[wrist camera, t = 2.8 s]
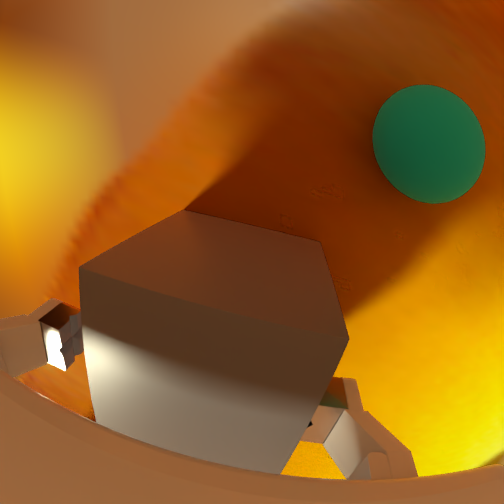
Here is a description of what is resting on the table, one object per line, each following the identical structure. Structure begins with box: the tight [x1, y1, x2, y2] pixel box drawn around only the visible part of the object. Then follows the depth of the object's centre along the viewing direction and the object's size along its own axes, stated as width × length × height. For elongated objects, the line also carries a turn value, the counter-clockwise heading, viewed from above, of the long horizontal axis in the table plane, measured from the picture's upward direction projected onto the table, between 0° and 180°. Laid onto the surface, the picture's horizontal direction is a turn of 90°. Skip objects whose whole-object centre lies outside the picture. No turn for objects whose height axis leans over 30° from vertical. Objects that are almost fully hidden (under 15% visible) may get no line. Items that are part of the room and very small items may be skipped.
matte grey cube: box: [79, 210, 349, 474], centre depth 12 cm, size 7×7×9 cm
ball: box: [373, 85, 485, 204], centre depth 11 cm, size 5×5×5 cm
